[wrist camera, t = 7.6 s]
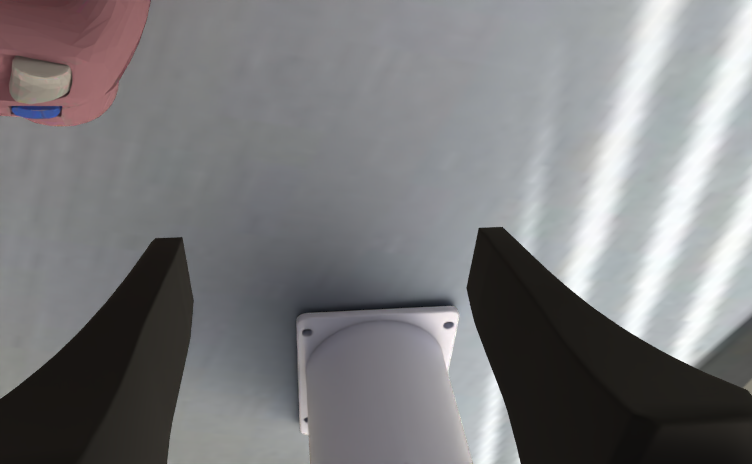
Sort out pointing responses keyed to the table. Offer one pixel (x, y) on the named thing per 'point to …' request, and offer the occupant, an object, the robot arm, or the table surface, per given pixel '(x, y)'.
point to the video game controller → (65, 56)
